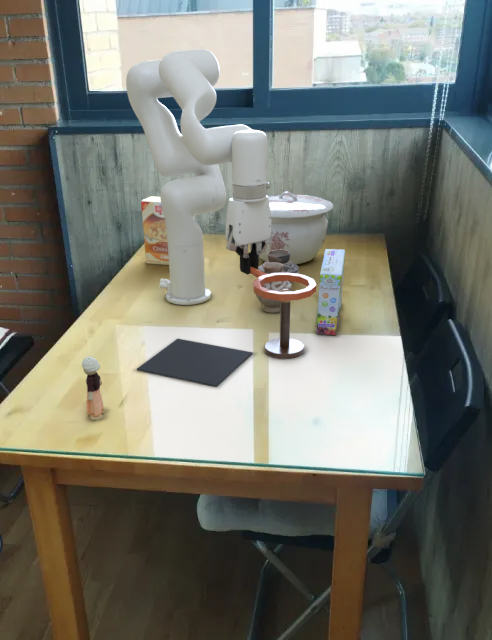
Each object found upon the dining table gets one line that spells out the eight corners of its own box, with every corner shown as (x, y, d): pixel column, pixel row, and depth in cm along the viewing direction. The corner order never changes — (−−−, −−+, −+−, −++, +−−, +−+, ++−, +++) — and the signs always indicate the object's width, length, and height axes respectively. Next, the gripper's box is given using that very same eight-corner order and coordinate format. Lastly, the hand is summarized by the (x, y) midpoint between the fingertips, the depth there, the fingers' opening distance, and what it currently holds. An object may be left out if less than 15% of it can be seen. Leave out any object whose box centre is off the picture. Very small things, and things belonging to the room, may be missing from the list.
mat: (136, 370, 154) (136, 368, 154) (177, 340, 167) (177, 338, 167) (216, 387, 145) (216, 385, 145) (252, 353, 159) (252, 352, 159)
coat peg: (258, 355, 158) (258, 293, 151) (274, 340, 165) (274, 280, 157) (295, 361, 154) (297, 298, 147) (309, 346, 161) (312, 285, 153)
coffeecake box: (145, 263, 220) (139, 200, 210) (155, 256, 226) (150, 195, 216) (188, 267, 215) (184, 203, 205) (197, 260, 221) (194, 197, 211)
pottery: (249, 315, 179) (249, 270, 173) (260, 283, 200) (260, 242, 194) (293, 316, 177) (294, 271, 171) (299, 284, 198) (301, 242, 192)
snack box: (338, 336, 165) (342, 275, 158) (315, 335, 166) (317, 274, 159) (342, 304, 183) (345, 247, 175) (320, 303, 184) (323, 247, 176)
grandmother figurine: (88, 407, 140) (80, 350, 133) (107, 405, 140) (100, 348, 134) (85, 426, 133) (76, 367, 127) (105, 425, 134) (97, 365, 127)
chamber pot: (330, 273, 204) (334, 202, 194) (238, 272, 209) (236, 202, 198) (331, 246, 228) (334, 181, 217) (248, 245, 232) (248, 181, 222)
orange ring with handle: (328, 292, 150) (328, 285, 150) (278, 305, 144) (278, 298, 144) (264, 263, 168) (264, 257, 167) (217, 274, 162) (217, 267, 161)
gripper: (268, 183, 159) (266, 261, 168) (210, 193, 152) (212, 274, 162) (288, 189, 153) (285, 269, 163) (229, 200, 146) (230, 283, 156)
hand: (249, 271), depth 162 cm, fingers closed on orange ring with handle, 1 cm apart
